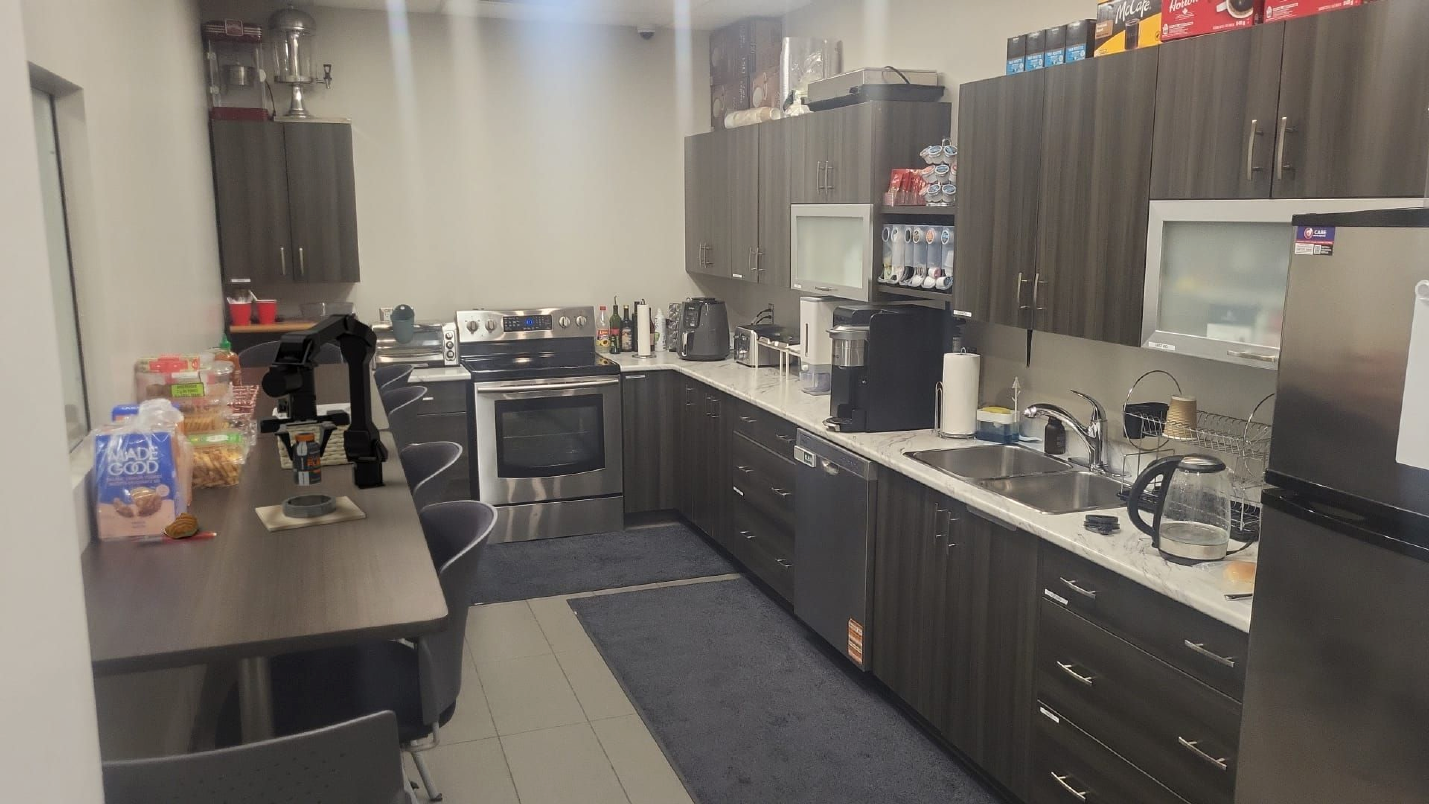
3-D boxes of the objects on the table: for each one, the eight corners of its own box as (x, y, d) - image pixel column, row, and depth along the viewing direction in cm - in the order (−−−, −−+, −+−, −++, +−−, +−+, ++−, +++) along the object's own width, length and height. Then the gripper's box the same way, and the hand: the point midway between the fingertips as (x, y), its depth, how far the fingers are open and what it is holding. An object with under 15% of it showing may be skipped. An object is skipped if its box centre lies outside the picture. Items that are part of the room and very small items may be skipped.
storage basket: (275, 471, 274) (271, 416, 271) (276, 458, 288) (272, 406, 286) (370, 464, 282) (367, 410, 280) (366, 451, 297) (364, 400, 295)
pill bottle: (312, 487, 229) (308, 437, 227) (287, 485, 230) (284, 435, 228) (327, 480, 235) (324, 431, 233) (303, 479, 236) (300, 430, 234)
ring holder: (346, 499, 247) (345, 485, 246) (365, 517, 232) (364, 503, 231) (255, 511, 236) (254, 497, 235) (269, 531, 221) (268, 516, 220)
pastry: (202, 537, 218) (201, 519, 217) (166, 542, 214) (165, 524, 214) (195, 526, 226) (194, 509, 225) (160, 531, 222) (159, 514, 221)
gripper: (337, 381, 240) (341, 447, 243) (250, 388, 231) (255, 456, 233) (348, 388, 231) (352, 456, 234) (258, 395, 221) (263, 466, 224)
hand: (306, 458), depth 232 cm, fingers closed on pill bottle, 6 cm apart
